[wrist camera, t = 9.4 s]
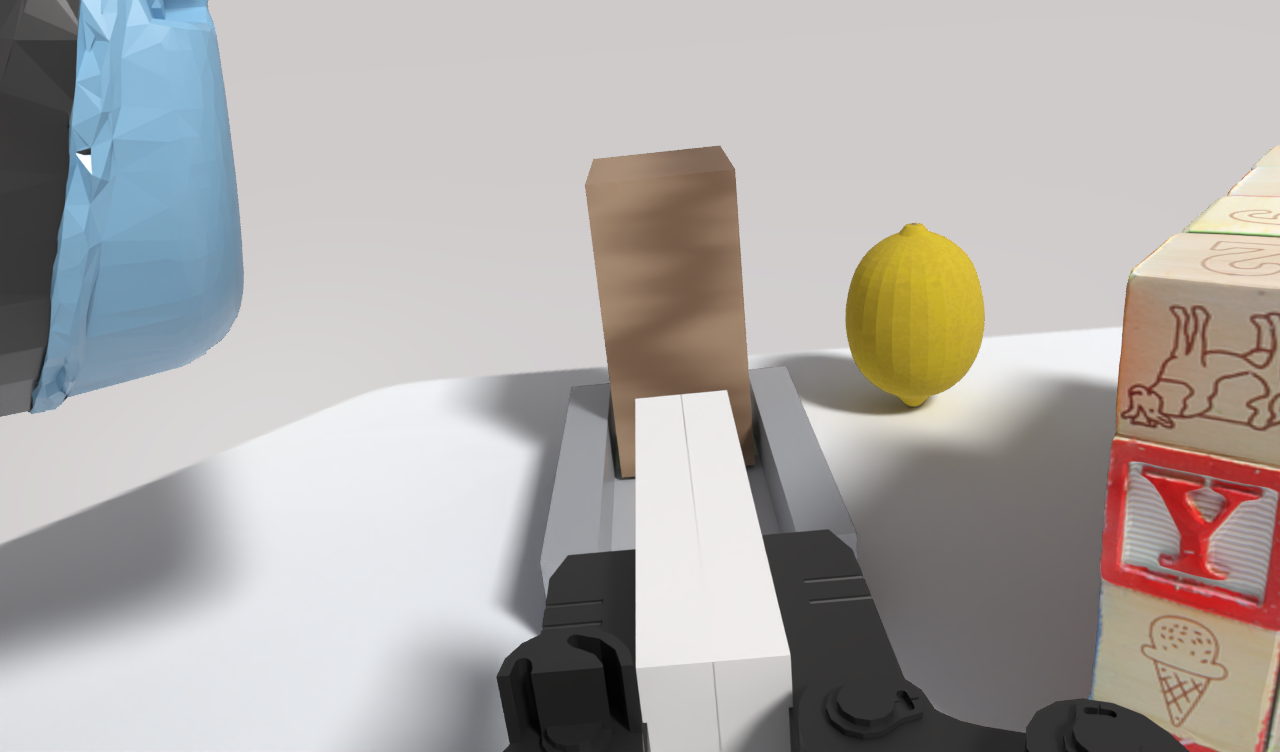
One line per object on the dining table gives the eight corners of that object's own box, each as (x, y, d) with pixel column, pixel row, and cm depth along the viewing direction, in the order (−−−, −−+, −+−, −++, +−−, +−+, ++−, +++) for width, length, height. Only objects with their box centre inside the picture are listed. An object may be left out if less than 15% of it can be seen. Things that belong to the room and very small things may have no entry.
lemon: (821, 410, 40) (815, 231, 37) (898, 372, 43) (898, 203, 40) (931, 445, 36) (933, 247, 33) (1007, 400, 39) (1016, 215, 36)
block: (622, 477, 34) (585, 185, 30) (624, 413, 40) (593, 159, 36) (754, 465, 34) (734, 169, 30) (738, 402, 40) (720, 145, 36)
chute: (555, 650, 27) (539, 562, 25) (581, 452, 39) (571, 386, 38) (858, 623, 26) (856, 533, 25) (789, 432, 38) (785, 365, 37)
